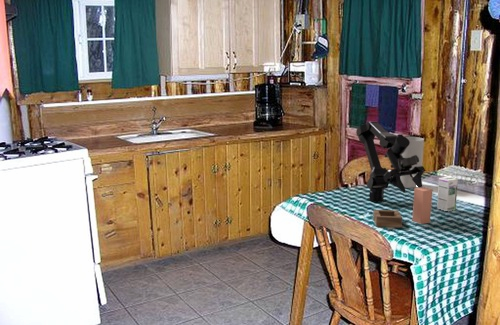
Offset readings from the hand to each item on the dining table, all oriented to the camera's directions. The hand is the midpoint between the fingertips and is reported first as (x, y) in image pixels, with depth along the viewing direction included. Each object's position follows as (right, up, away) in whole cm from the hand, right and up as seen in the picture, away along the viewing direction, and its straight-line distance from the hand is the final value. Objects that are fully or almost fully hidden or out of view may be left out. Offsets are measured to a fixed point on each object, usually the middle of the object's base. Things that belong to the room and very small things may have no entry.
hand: (413, 190), depth 218 cm
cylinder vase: (+15, -1, +55) cm, 57 cm away
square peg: (+2, -13, -2) cm, 13 cm away
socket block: (-12, -13, -4) cm, 18 cm away
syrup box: (+19, -9, +14) cm, 25 cm away
